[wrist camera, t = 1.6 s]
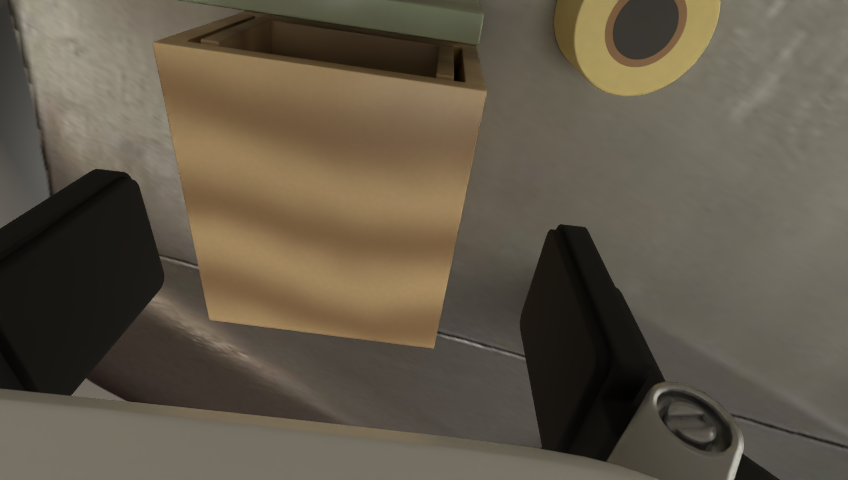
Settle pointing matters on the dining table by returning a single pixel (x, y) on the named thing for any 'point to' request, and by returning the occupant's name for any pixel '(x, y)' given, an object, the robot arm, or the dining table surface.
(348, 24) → the drawer
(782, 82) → the dining table surface
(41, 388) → the robot arm
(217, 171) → the cabinet
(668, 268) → the dining table surface
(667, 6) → the tape roll
